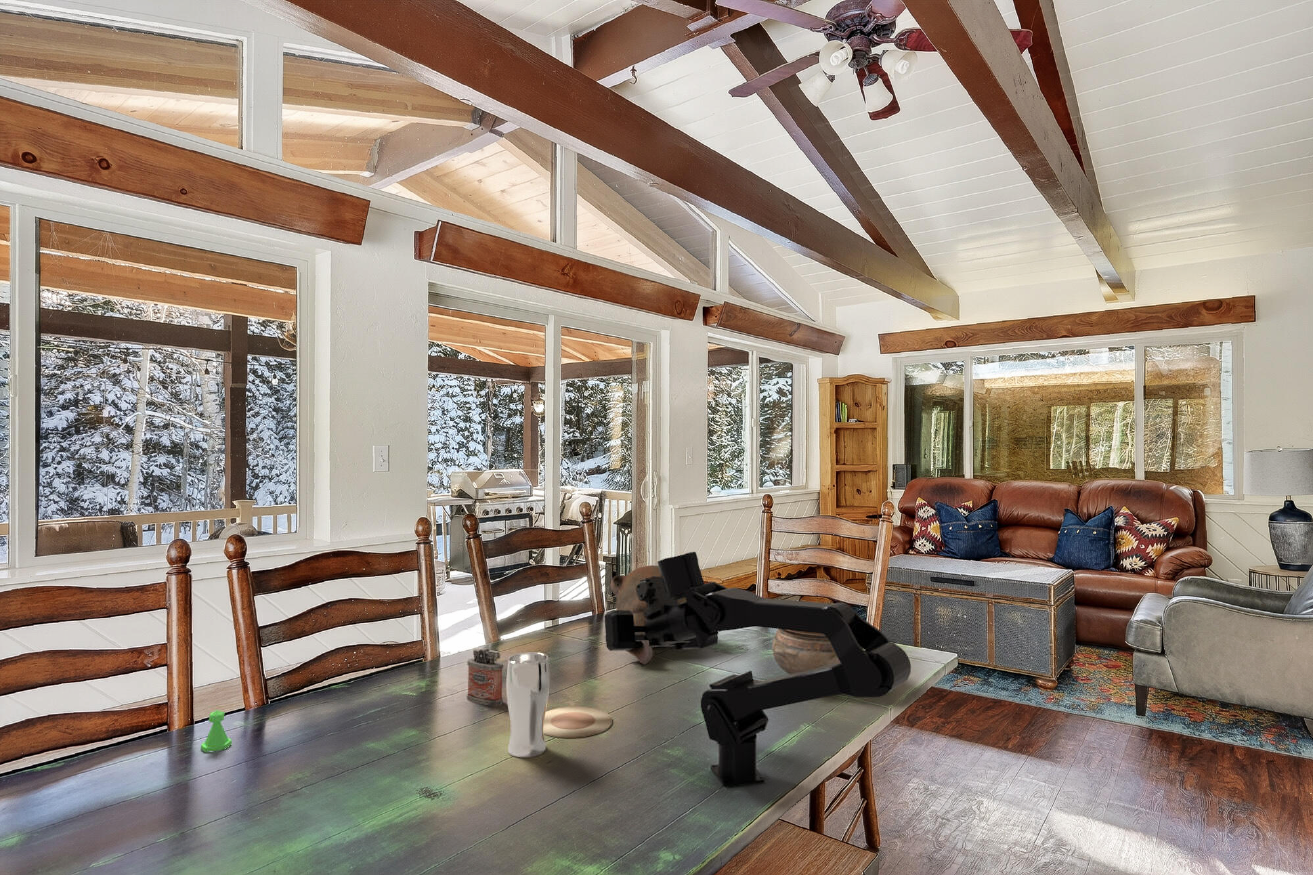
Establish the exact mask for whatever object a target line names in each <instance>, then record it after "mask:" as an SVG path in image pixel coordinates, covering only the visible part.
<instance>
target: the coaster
mask: <svg viewBox="0 0 1313 875" xmlns="http://www.w3.org/2000/svg"><path fill="white" fill-rule="evenodd" d="M612 724H613V719H612V716H611V714H609V713H607V712H606V711H604V710H600V709H597V708H593V707H588V706H587V707H586V706H566V707H565V706H564V707H558V708H554V709H550V710H546V713H545V718H544V736H549V737H554V738H559V739H561V738H563V739H576V738H577V739H578V738H579V739H580V738H585V737H591V736H595V735H598V734H601V733H603V732H606V730H608V729H610V727H611V726H612Z"/></svg>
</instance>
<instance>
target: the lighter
mask: <svg viewBox="0 0 1313 875" xmlns="http://www.w3.org/2000/svg"><path fill="white" fill-rule="evenodd" d="M472 652H473V653H472V654H473V658H469V659H467V662H466V664H467V665H468V669H467V673H468V674H467V679H468V680H467V694H466V699H467V701H469V702H473V703H476V704H478V705H479V704H480V705H486V706H493V707H495V706H496V707H497V706H500V705H502V704H504V697H503V669H504V663H503V662H500V661H496V660H499V659H500V658H501V653H500V651H496V650H492V649H489V648H488V647H484V648H482V649H481V648H474V649H473V650H472Z"/></svg>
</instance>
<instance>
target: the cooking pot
mask: <svg viewBox="0 0 1313 875" xmlns="http://www.w3.org/2000/svg"><path fill="white" fill-rule="evenodd" d="M862 649H863V648H862ZM863 650H864V649H863ZM772 654H773V657H774V660H775V662H776V663H777V664H778V667H779V668H780V669H782V671H784V672H785V673H787V675H790V674H794V673H798V672H803V671H807V670H811V669H815V668H820V667H824V666H828V665H832V664H837V663H840V661H839V659H838V657H837V655H836V653H835V651H834V649H833V647H832V645H831V643H830V641H829V639H828V638H827V637H826V636H825V635H824V634H823V633H814V632H804V631H795V630H785V629H777V630H776V632H775V635H774V638H773V642H772Z"/></svg>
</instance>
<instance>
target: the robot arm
mask: <svg viewBox="0 0 1313 875" xmlns="http://www.w3.org/2000/svg"><path fill="white" fill-rule="evenodd" d="M656 563H657V566H658V567H659V570H660V574H661V577H657V576H652V577H650V578H646V579H644V580H640V583H639V584H638V585H637V586H636V592H637V595H638V598H639V600H640V601H645V602H646V605H647V607H648V609H645V610H644V617H646V618H647V620H646V621H645V625H644V626H634V617H633V614H632V613H631V611H630V610H617V609H616V610H615V609H614V610H613V609H612V610H610V611H608V612H607V611H606V613H605V614H604V616H603V617H604V629H605V643H606V645H605V646H606V648H607V649H608V651H611V652H613V651H617V652H618V651H619V652H620V651H625V650H630V649H633V647H634V645H635V642H636V641H649V647H652V648H658V647H667V648H670V649H673V650H696V649H705V648H708V647H710V646H714V645H717V644H718V642H719V632H723V631H724V632H725V631H734V630H739V629H746V628H755V627H757V628H758V627H759V628H760V627H761V628H766V629H767V628H768V629H777V630H778V629H785V630H795V631H804V632H814V633H823V634H824V635H825V636H826V637H827V638H828V639H829V641H830V643H831V645H832V647H833V649H834V651H835V653H836V655H837V657H838V659H839V661H840V663H837V664H832V665H828V666H824V667H820V668H815V669H811V670H807V671H803V672H798V673H794V674H787V675H782V676H777V677H773V678H769V679H765V680H759V679H758V680H757V679H755V678H754V676H753V670H750V671H747V672H744V673H742V674H739V675H738V674H731V675H729V676H726V677H723V678H722V679H720V680H716V681H714V682H713V683H709V687H710V688H709V689H707V690H705V691H704V692H703V693H702V697H701V698H700V709H701V710H700V711H701V713H702V715H703V716H702V717H703V718H704V722H705V726H706V730H707V734H708V737H709V738H708V739H709V740H711V741H714V742H716V743H717V744H718V764H717V763H716V764H711V765H710V770H711V771H712V773H713V774H714V775H715V776H716V778H717V779H718V780H719V782H720V784H722V786H723V787H726V788H727V787H736V786H747V785H753V784H760V783H765V781H766V778H765V777H764V775H762V773H761V772H760V771H759V770H758V769H757V749H758V748H757V746H758V745H757V744H758V743H757V739H758V738H757V737H758V736H757V735H758V734H759V733H762V732H764V731H765V730H766V728H767V725H768V723H769V717H768V716H767V715H766V713H765V711H764V710H769V709H775V708H778V707H779V708H780V707H785V706H789V705H793V704H794V705H795V704H798V703H803V702H807V701H813V700H818V699H822V698H827V697H832V696H837V695H842V696H843V695H844V696H848V697H852V698H881V697H884V696H886V695H887V694H888V693H891V692H892V691H894V690H895V689H897V688H898V687H899V686H901V685H903V684H904V683H906V682H907V681H908V680H909V677H910V675H911V670H912V664H911V661H910V657H909V656H908V654H907V653H906V651H904V649H903V648H902V647H900V646H898V645H897V644H896V643H894V642H892V641H891V640H890V639H889V638H888V637H887V636H886V635H885V634H884V633H883V632H882V631H881V630H880V629H878V628H877V627H875V626H874V625H873V624H871V623H870V622H868V621H866V620H865V619H864V618H862V616H860V615H859V614H858V612H857V611H856V610H855V609H854V608H853V607H852V606H850V605H849V604H848V603H845V602H836V603H829V602H816V601H815V602H814V601H803V600H791V599H790V600H789V599H777V598H766V597H763V596H760V595H758V594H756V593H754V592H753V591H749V590H745V589H743V588H742V589H741V588H738V587H729V588H728V587H726V586H723V585H722V584H720V583H719V582H718V583H717V582H716V581H710V582H707V583H705V581H704V578H703V575H702V572H701V569H700V568H701V567H700V564H699V558H698V555H697V552H696V551H690V552H686V553H684V554H680V555H674V556H670V557H666V558H663V559H660V560H659V561H657V562H656ZM682 598H686V601H687V602H684V603H681V604H679V603H678V600H679V599H682ZM635 634H636V635H635ZM637 634H638V635H637ZM639 634H640V635H639ZM641 634H642V635H641ZM643 634H644V635H643ZM645 634H646V635H645ZM862 648H863V649H862Z"/></svg>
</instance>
